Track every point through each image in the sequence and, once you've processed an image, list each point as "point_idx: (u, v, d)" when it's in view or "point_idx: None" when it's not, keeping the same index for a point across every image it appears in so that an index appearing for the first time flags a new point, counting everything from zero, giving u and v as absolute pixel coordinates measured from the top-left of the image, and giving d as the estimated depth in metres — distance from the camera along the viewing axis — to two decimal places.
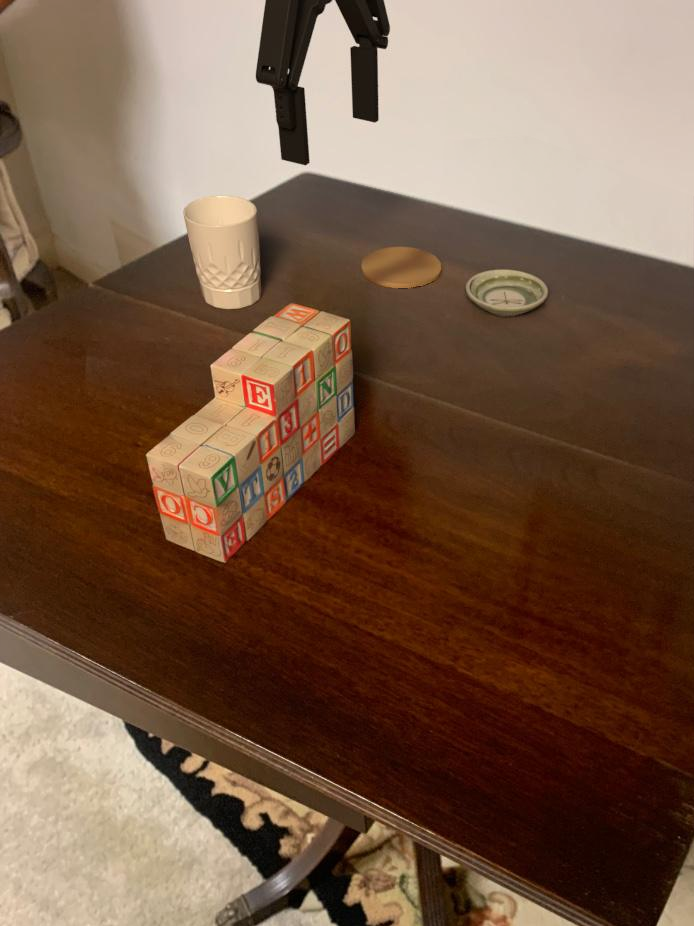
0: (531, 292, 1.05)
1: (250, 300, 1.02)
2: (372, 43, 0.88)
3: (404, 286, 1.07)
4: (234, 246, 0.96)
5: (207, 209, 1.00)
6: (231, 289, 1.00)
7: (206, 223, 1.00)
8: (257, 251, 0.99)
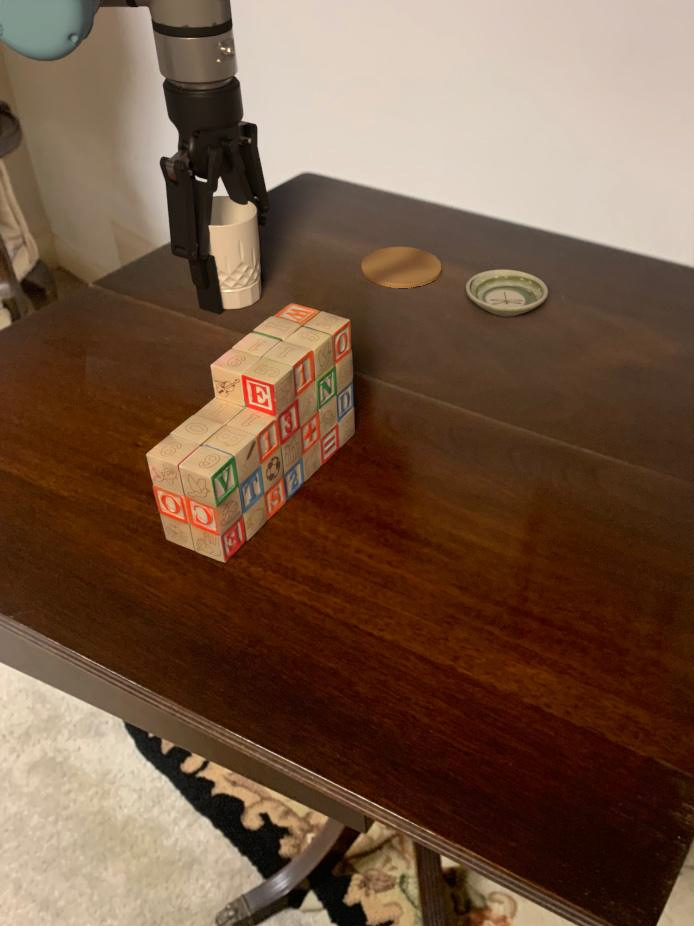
0: (531, 292, 1.05)
1: (250, 300, 1.02)
2: None
3: (404, 286, 1.07)
4: (234, 246, 0.96)
5: None
6: (231, 289, 1.00)
7: None
8: (257, 251, 0.99)
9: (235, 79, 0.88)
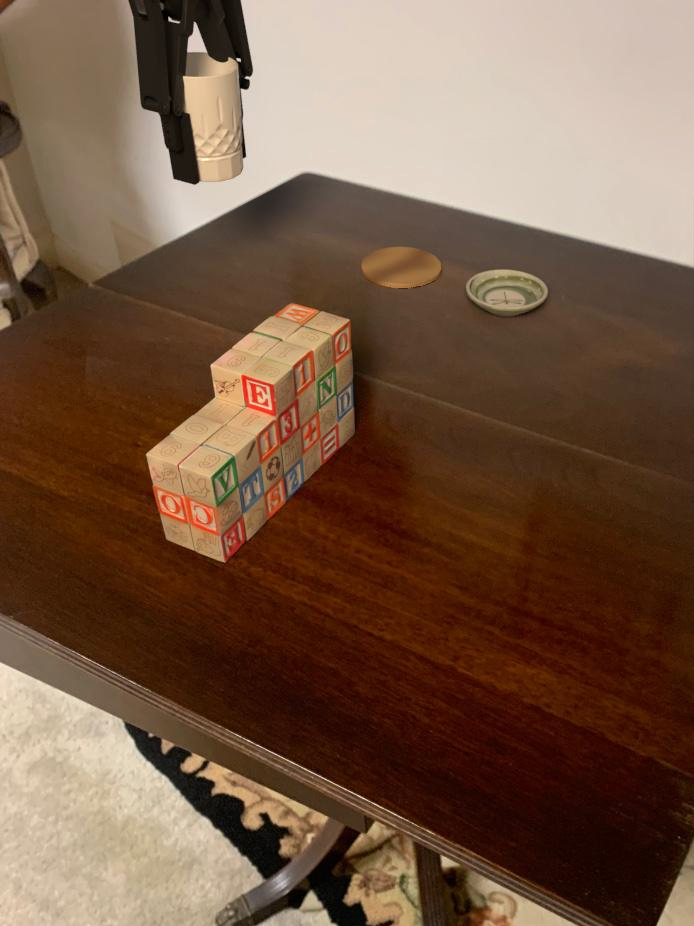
0: (531, 292, 1.05)
1: (230, 173, 0.92)
2: None
3: (404, 286, 1.07)
4: (211, 103, 0.86)
5: None
6: (209, 157, 0.90)
7: None
8: (238, 114, 0.89)
9: None
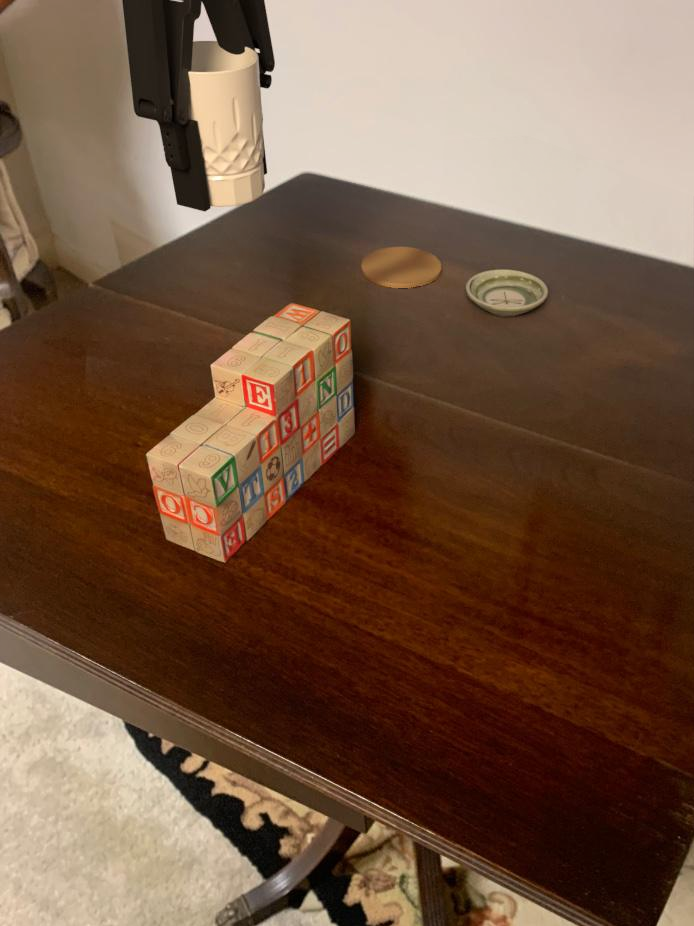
0: (531, 292, 1.05)
1: (250, 194, 0.72)
2: None
3: (404, 286, 1.07)
4: (226, 106, 0.66)
5: None
6: (223, 175, 0.70)
7: None
8: (259, 120, 0.69)
9: None
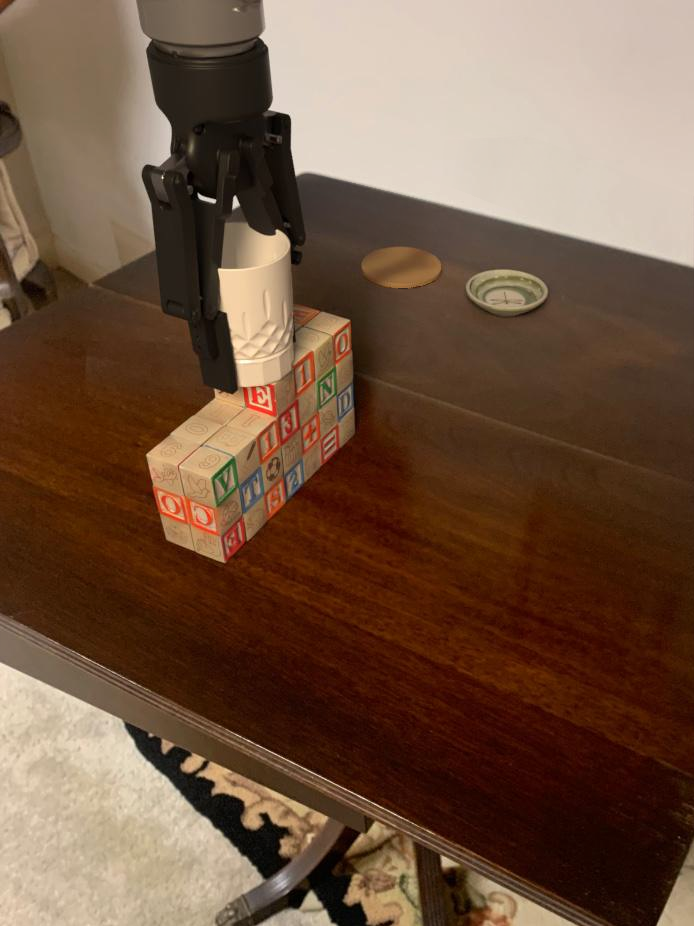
0: (531, 292, 1.05)
1: (278, 373, 0.70)
2: None
3: (404, 286, 1.07)
4: (256, 298, 0.64)
5: None
6: (251, 359, 0.68)
7: None
8: (290, 304, 0.67)
9: (261, 42, 0.56)
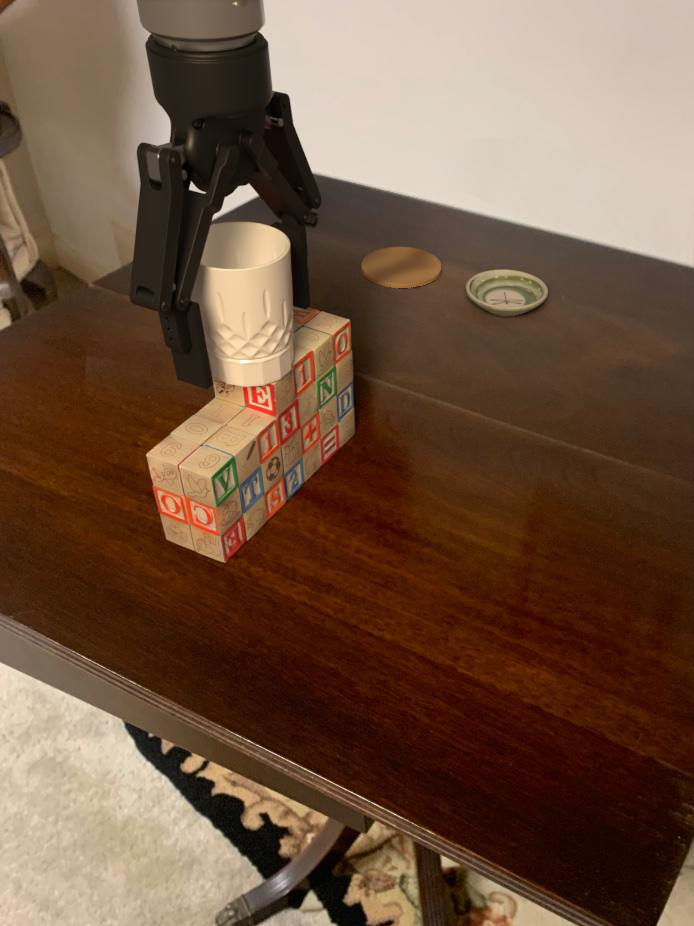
0: (531, 292, 1.05)
1: (278, 373, 0.70)
2: (298, 221, 0.69)
3: (404, 286, 1.07)
4: (256, 298, 0.64)
5: (216, 241, 0.67)
6: (251, 359, 0.68)
7: (214, 261, 0.68)
8: (290, 304, 0.67)
9: (261, 37, 0.56)
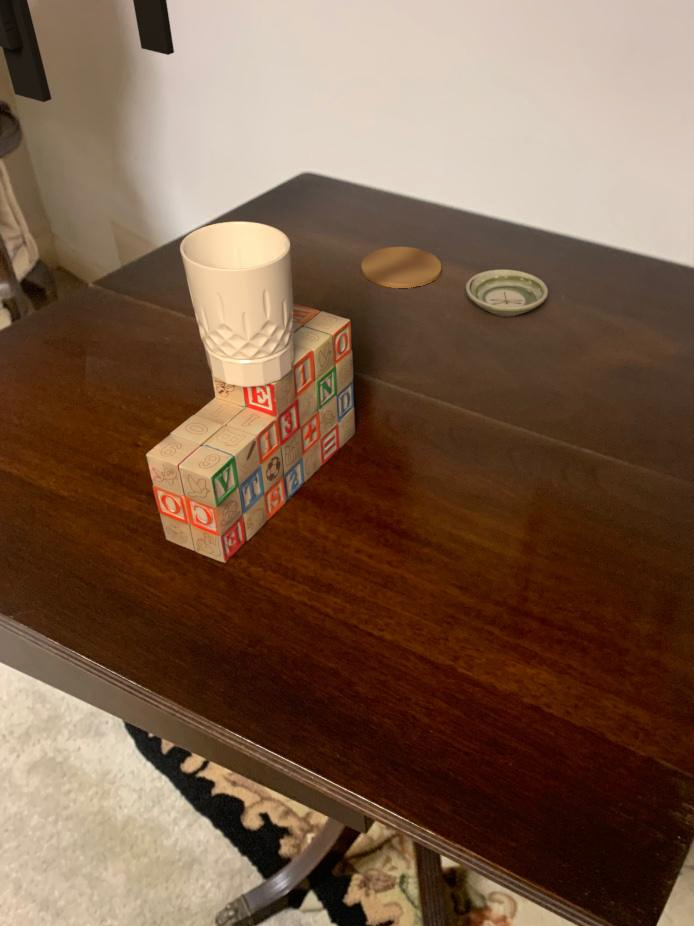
0: (531, 292, 1.05)
1: (278, 373, 0.70)
2: None
3: (404, 286, 1.07)
4: (256, 298, 0.64)
5: (216, 241, 0.67)
6: (251, 359, 0.68)
7: (214, 261, 0.68)
8: (290, 304, 0.67)
9: None
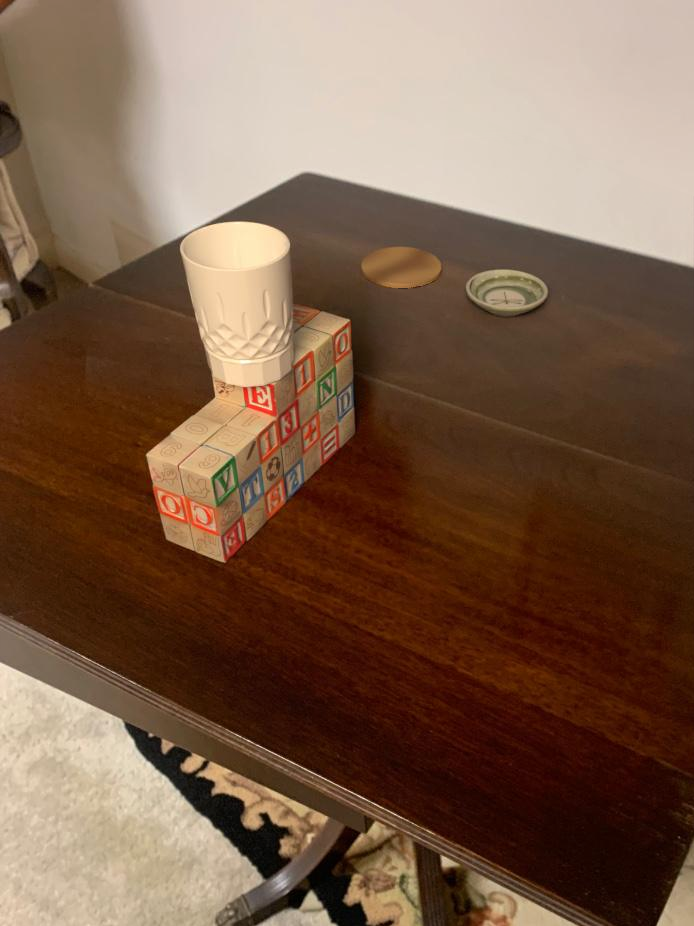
0: (531, 292, 1.05)
1: (278, 373, 0.70)
2: None
3: (404, 286, 1.07)
4: (256, 298, 0.64)
5: (216, 241, 0.67)
6: (251, 359, 0.68)
7: (214, 262, 0.68)
8: (290, 304, 0.67)
9: None
